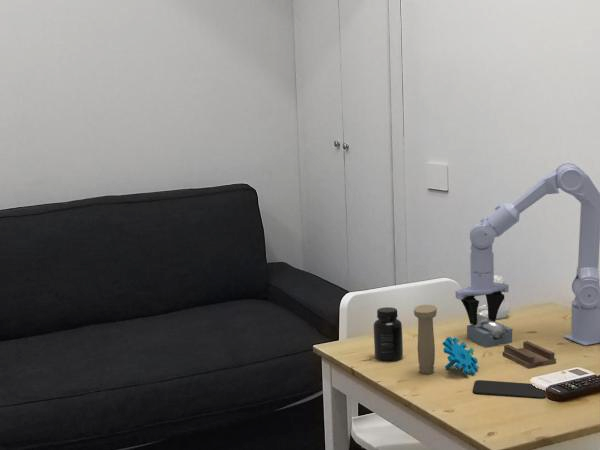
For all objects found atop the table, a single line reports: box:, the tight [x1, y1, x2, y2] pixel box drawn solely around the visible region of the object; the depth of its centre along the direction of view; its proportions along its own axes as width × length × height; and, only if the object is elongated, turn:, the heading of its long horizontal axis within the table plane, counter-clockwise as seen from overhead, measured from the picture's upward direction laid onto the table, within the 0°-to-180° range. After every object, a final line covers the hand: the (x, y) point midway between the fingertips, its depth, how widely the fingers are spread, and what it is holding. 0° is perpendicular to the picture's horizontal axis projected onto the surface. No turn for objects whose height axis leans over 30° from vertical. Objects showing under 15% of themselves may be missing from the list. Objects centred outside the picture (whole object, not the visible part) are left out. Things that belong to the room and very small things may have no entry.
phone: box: [472, 379, 547, 400], centre depth 172 cm, size 7×1×15 cm
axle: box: [474, 313, 506, 339], centre depth 205 cm, size 10×4×4 cm, turn 21°
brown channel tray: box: [502, 340, 557, 369], centre depth 190 cm, size 8×10×2 cm
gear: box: [442, 336, 480, 376], centre depth 185 cm, size 11×6×10 cm
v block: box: [466, 321, 513, 348], centre depth 204 cm, size 8×8×4 cm
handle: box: [413, 304, 438, 375], centre depth 184 cm, size 5×6×15 cm
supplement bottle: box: [373, 306, 404, 362], centre depth 195 cm, size 7×7×12 cm
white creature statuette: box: [477, 274, 510, 320], centre depth 224 cm, size 10×9×12 cm
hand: (482, 322), depth 207 cm, fingers open, 5 cm apart
